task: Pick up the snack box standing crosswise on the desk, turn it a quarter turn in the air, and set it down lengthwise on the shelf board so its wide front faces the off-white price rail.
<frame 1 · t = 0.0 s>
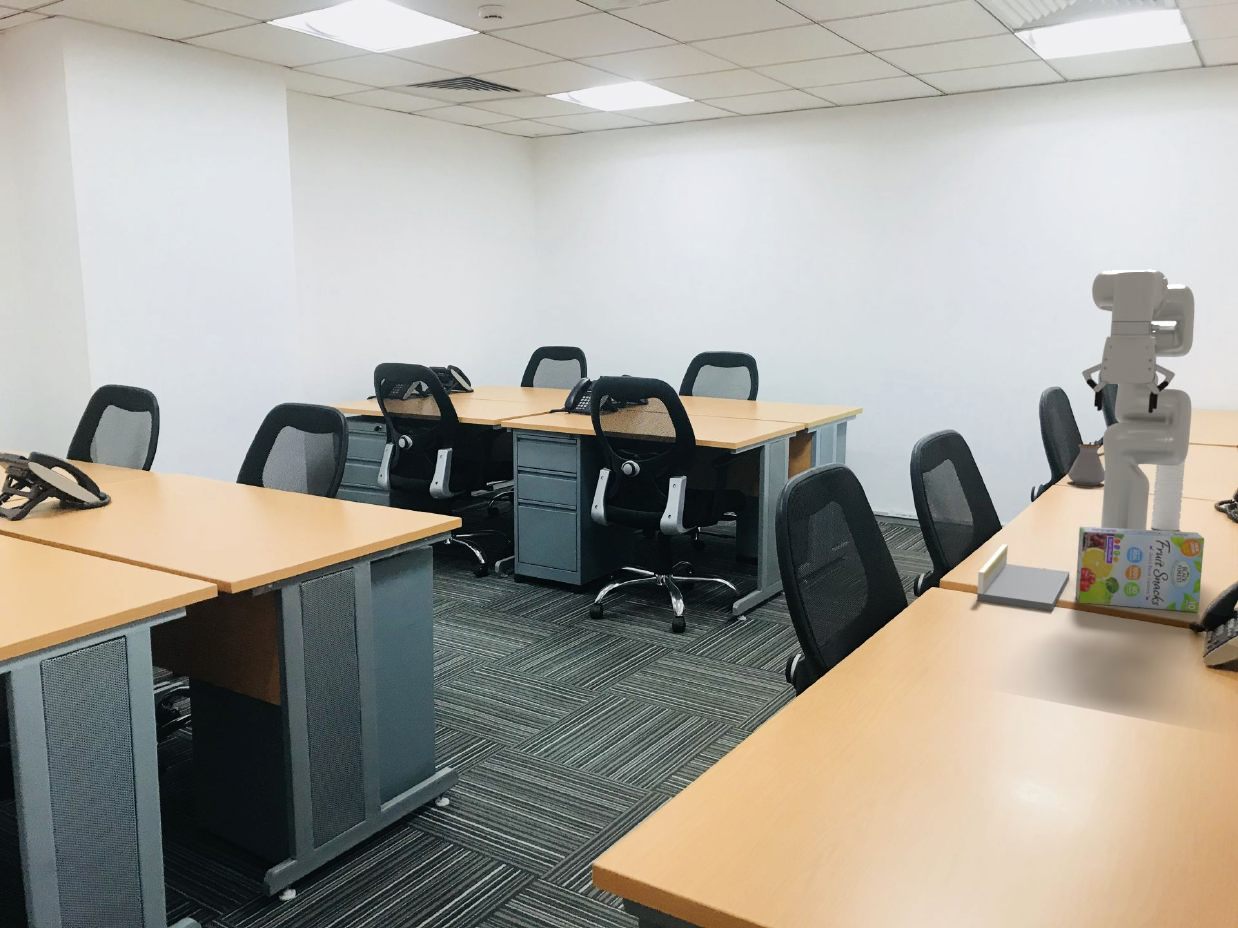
hand: (1124, 411, 201), 37 cm above the table, tool pointing down, fingers open, 9 cm apart
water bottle: (1166, 528, 252), on the table
shelf: (1024, 588, 199), on the table
snack box: (1134, 605, 189), on the table
coffee pot: (1102, 485, 312), on the table
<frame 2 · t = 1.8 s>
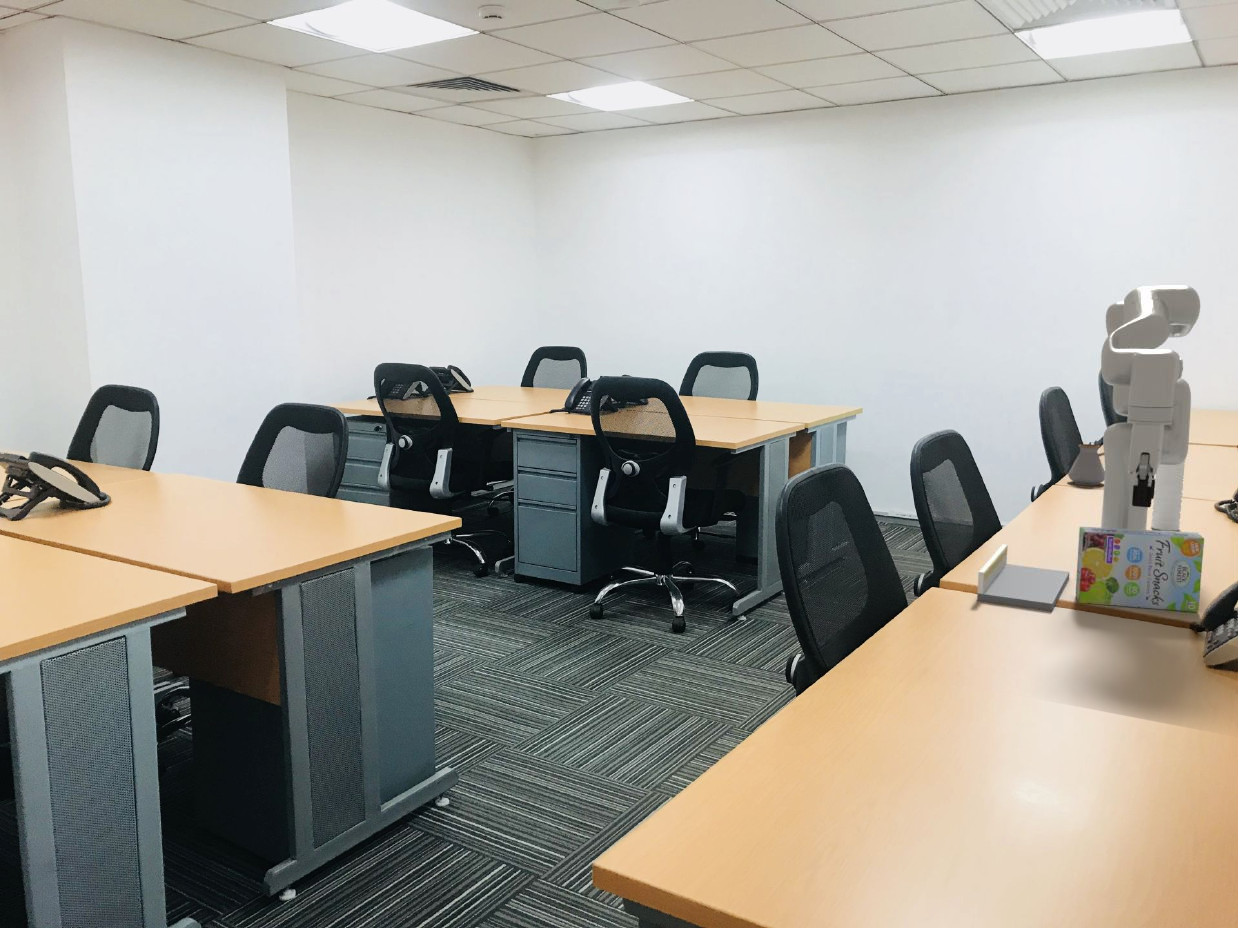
hand: (1142, 502, 185), 21 cm above the table, tool pointing down, fingers open, 9 cm apart
nothing on the table moved.
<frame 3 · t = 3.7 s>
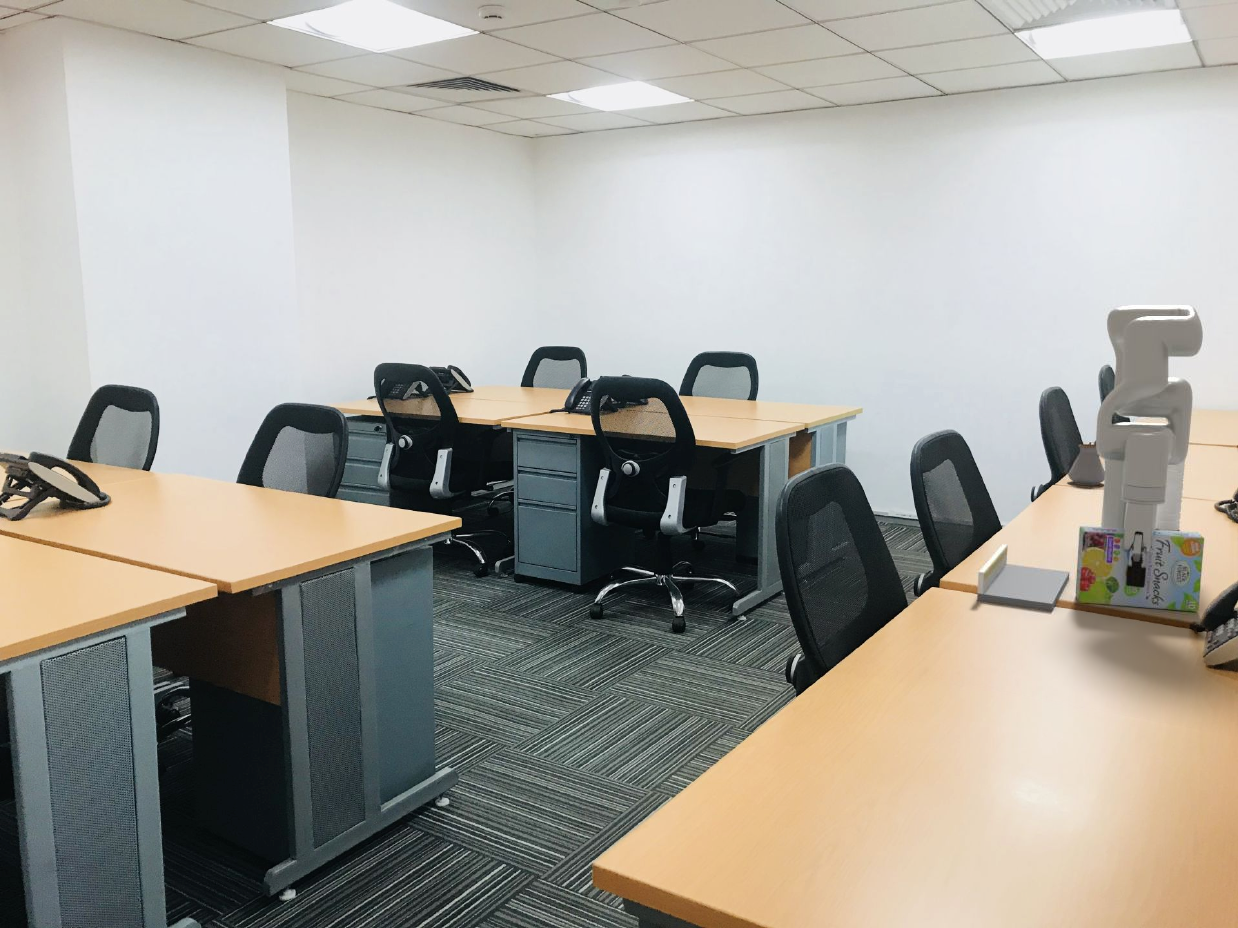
hand: (1136, 580, 188), 5 cm above the table, tool pointing down, fingers closed on snack box, 6 cm apart
snack box: (1134, 604, 189), on the table, touching gripper
everything else where it was.
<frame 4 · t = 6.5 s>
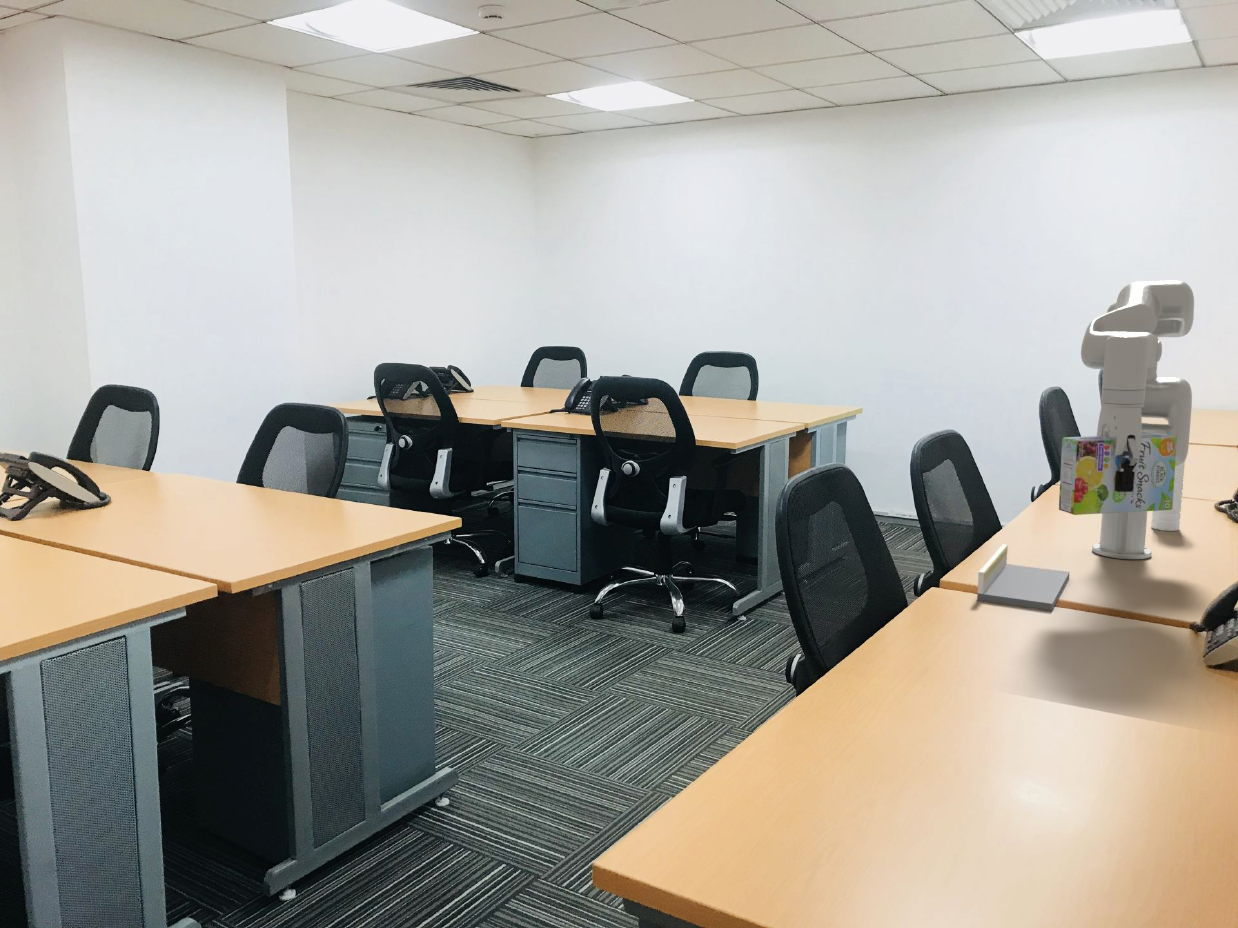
hand: (1116, 487, 187), 23 cm above the table, tool pointing down, fingers closed on snack box, 6 cm apart
snack box: (1114, 511, 188), point 18 cm above the table, touching gripper
everything else where it was.
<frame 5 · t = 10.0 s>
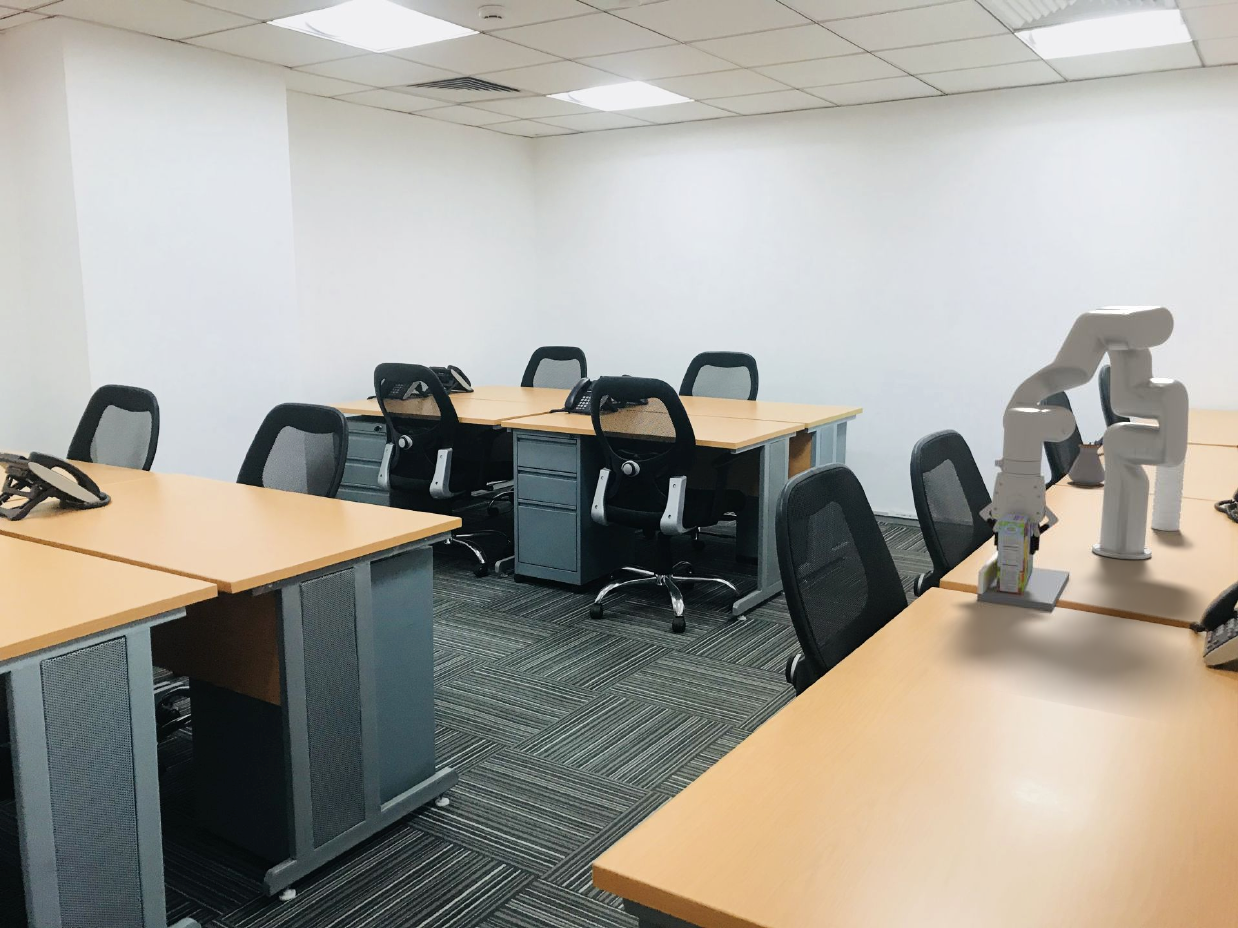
hand: (1016, 550, 199), 8 cm above the table, tool pointing down, fingers closed on snack box, 6 cm apart
snack box: (1014, 581, 201), point 1 cm above the table, touching gripper, shelf
everything else where it was.
when the fingers open (8 cm above the table, at t = 10.5 s): snack box stays where it is, resting on shelf.
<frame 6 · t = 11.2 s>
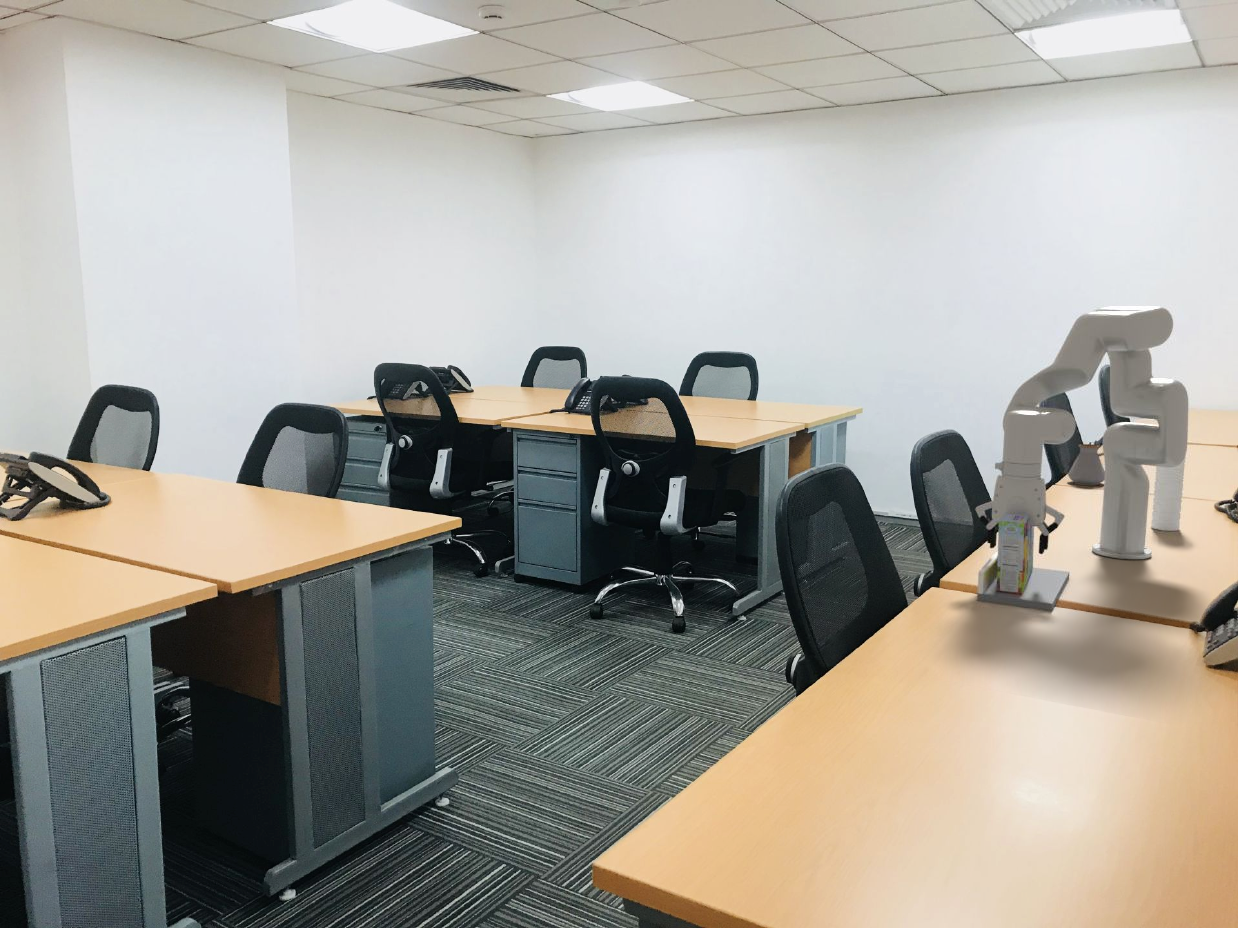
hand: (1016, 549, 199), 8 cm above the table, tool pointing down, fingers open, 9 cm apart
snack box: (1014, 581, 201), point 1 cm above the table, touching shelf
everything else where it was.
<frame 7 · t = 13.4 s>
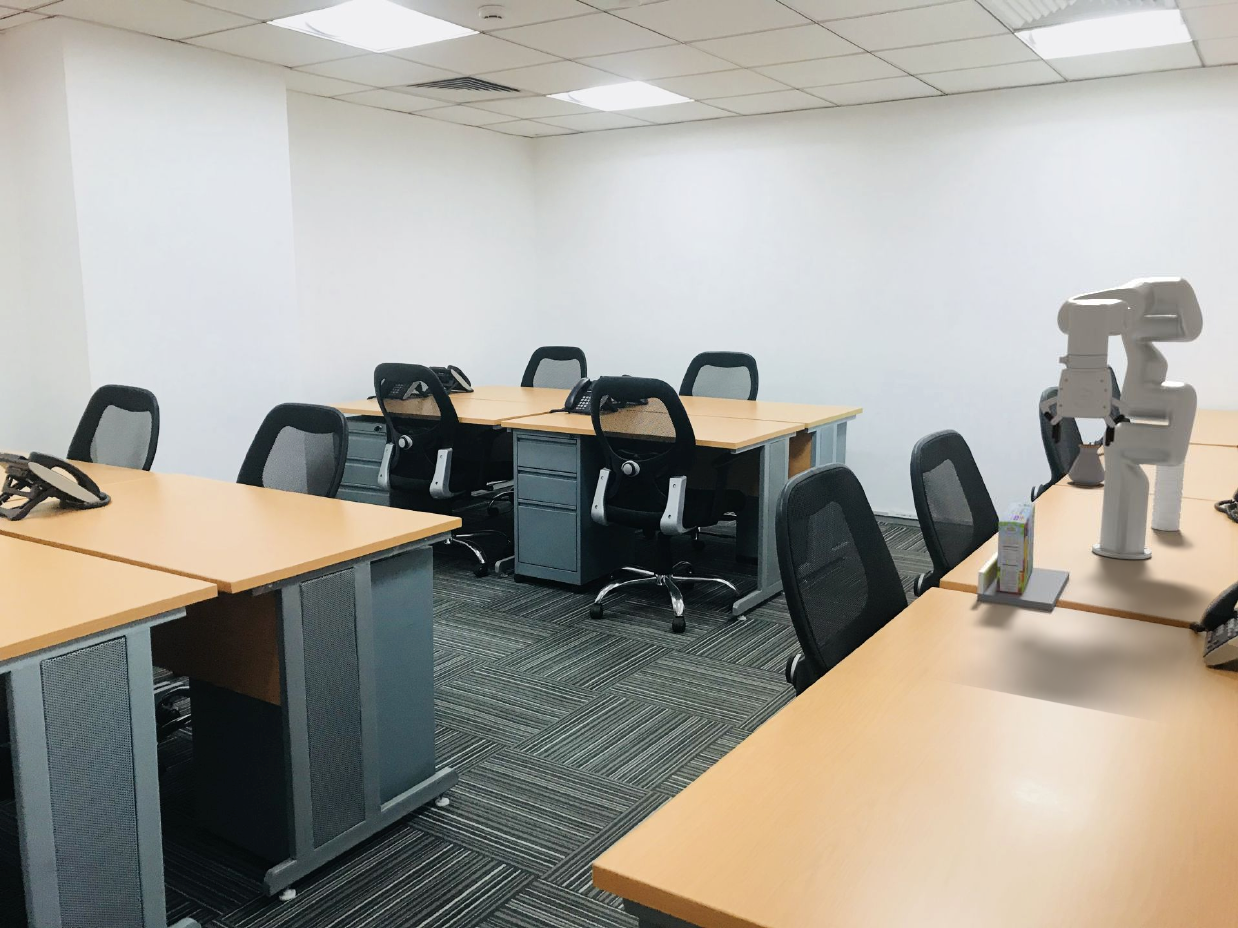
hand: (1082, 444, 198), 30 cm above the table, tool pointing down, fingers open, 9 cm apart
nothing on the table moved.
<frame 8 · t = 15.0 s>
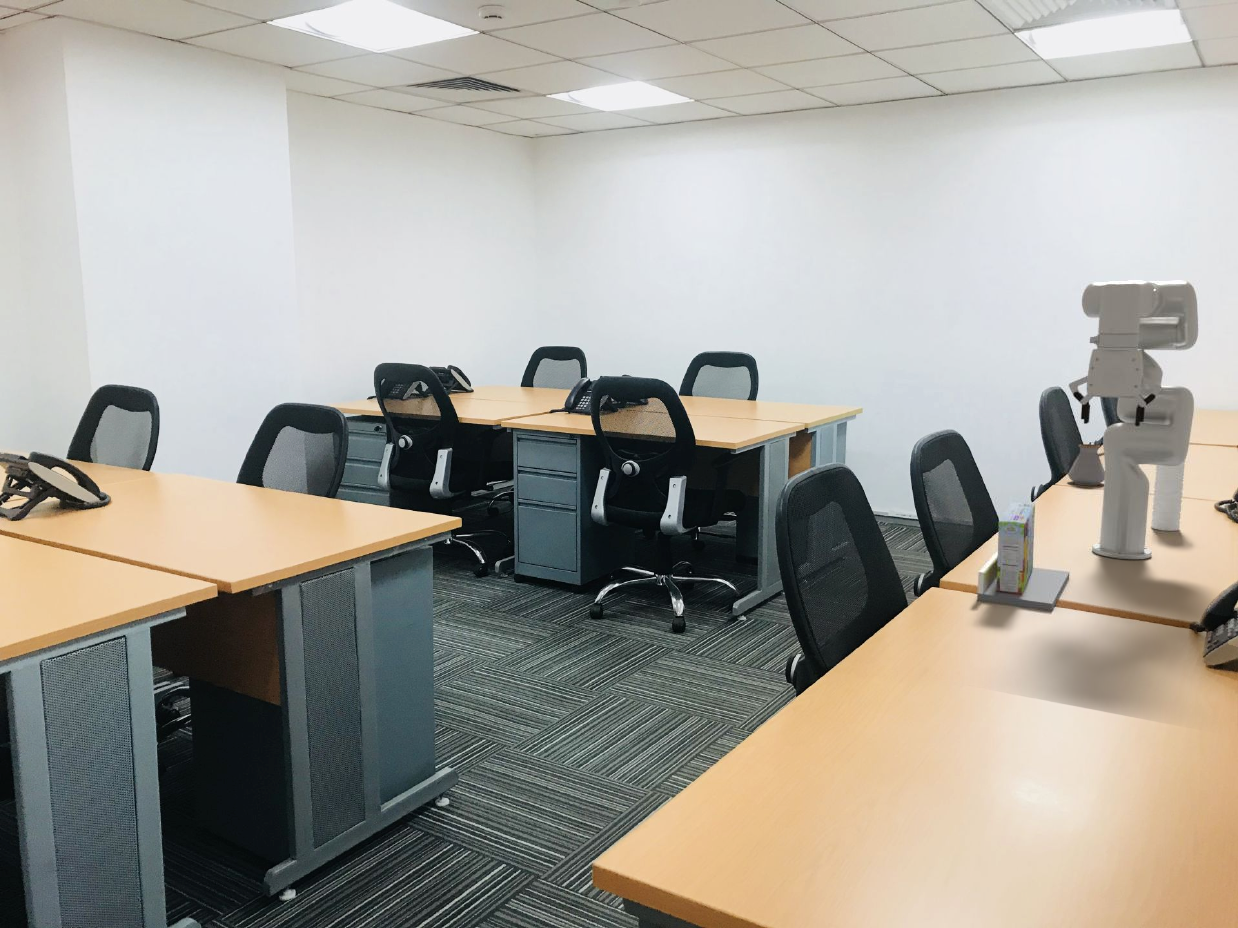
hand: (1111, 424, 199), 34 cm above the table, tool pointing down, fingers open, 9 cm apart
nothing on the table moved.
at the end: snack box inside the target area (0.4 cm from its centre), point 1.3 cm above the table; snack box tilted 0°; the gripper is holding nothing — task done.
